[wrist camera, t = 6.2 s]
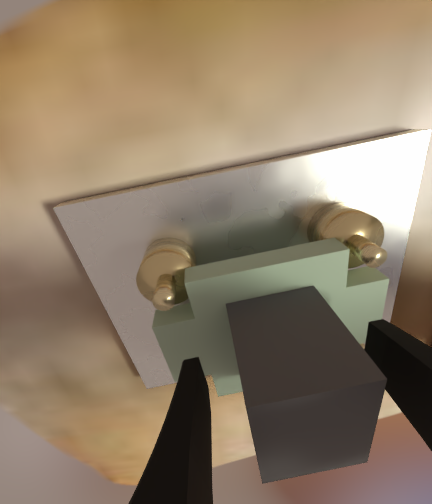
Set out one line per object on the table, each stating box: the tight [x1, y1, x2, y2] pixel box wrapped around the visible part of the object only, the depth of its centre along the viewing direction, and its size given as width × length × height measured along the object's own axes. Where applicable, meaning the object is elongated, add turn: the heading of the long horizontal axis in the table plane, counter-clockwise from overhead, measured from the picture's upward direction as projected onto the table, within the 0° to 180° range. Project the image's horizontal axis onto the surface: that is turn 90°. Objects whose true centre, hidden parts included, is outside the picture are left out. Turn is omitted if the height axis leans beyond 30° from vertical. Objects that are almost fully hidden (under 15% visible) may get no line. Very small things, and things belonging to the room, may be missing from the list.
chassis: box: [53, 129, 431, 389], centre depth 13 cm, size 18×14×4 cm
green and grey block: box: [152, 238, 389, 483], centre depth 10 cm, size 11×8×6 cm
